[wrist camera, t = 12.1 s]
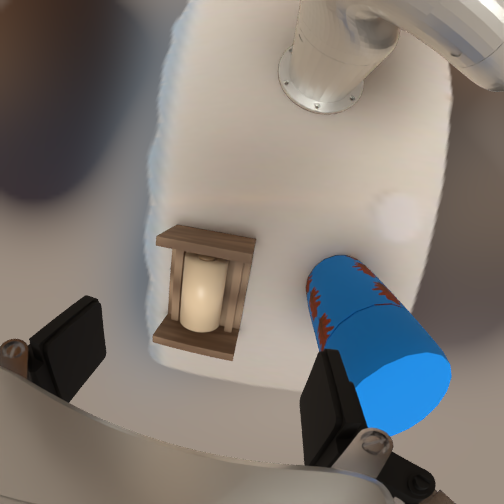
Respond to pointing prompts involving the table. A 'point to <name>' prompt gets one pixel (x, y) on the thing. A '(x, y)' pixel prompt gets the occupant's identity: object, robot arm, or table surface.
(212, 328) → the kraft roll
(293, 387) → the table surface
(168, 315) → the cradle
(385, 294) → the thermos
